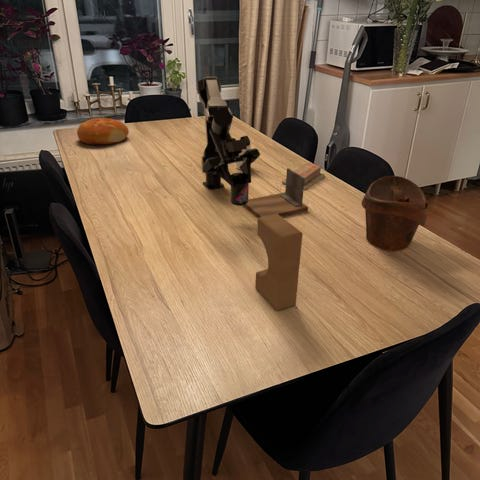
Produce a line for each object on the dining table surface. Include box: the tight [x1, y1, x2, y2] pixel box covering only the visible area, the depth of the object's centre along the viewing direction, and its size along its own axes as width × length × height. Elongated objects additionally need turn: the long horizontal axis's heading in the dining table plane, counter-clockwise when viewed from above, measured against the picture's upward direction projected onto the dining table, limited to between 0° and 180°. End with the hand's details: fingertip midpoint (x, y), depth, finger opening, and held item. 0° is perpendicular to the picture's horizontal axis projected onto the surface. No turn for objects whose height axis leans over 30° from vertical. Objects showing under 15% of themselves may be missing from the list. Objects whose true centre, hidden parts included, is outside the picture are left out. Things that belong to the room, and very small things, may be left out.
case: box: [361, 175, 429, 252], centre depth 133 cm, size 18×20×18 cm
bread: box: [76, 117, 130, 146], centre depth 218 cm, size 23×23×10 cm
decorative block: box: [254, 214, 303, 311], centre depth 108 cm, size 11×6×20 cm, turn 26°
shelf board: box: [242, 167, 309, 219], centre depth 154 cm, size 14×18×12 cm
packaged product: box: [281, 162, 326, 191], centre depth 179 cm, size 18×5×10 cm
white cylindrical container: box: [234, 142, 252, 170], centre depth 189 cm, size 7×7×10 cm
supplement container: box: [229, 172, 250, 207], centre depth 145 cm, size 6×6×9 cm
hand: (242, 184), depth 143 cm, fingers closed on supplement container, 6 cm apart
